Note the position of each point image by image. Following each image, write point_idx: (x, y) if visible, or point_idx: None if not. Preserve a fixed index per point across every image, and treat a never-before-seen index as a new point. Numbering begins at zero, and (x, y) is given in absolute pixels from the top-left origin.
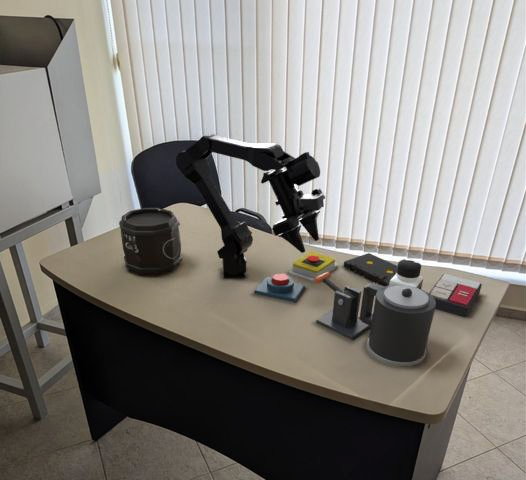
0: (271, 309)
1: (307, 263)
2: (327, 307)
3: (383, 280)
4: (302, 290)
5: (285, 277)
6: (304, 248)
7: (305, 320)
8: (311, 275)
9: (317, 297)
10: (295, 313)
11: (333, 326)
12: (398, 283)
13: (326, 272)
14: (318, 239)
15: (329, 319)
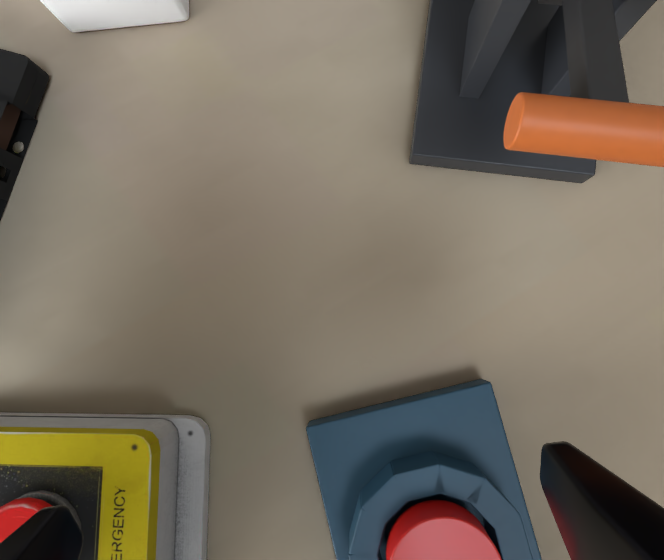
0: (618, 446)
1: (86, 553)
2: (404, 220)
3: (10, 92)
4: (352, 412)
5: (433, 539)
6: (578, 470)
7: (588, 241)
8: (172, 462)
9: (345, 315)
10: (565, 318)
11: None
12: None
13: (541, 120)
14: (59, 506)
15: None
